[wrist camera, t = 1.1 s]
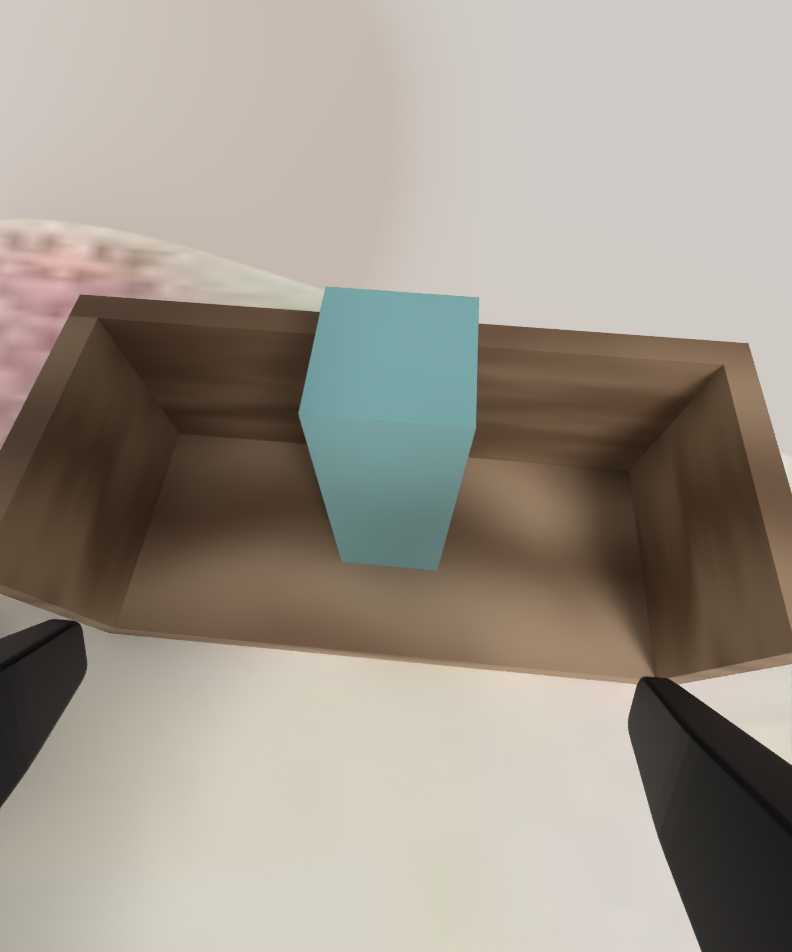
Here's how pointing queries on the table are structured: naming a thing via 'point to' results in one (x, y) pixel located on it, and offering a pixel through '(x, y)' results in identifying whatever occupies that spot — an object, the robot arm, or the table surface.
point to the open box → (473, 520)
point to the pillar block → (391, 419)
